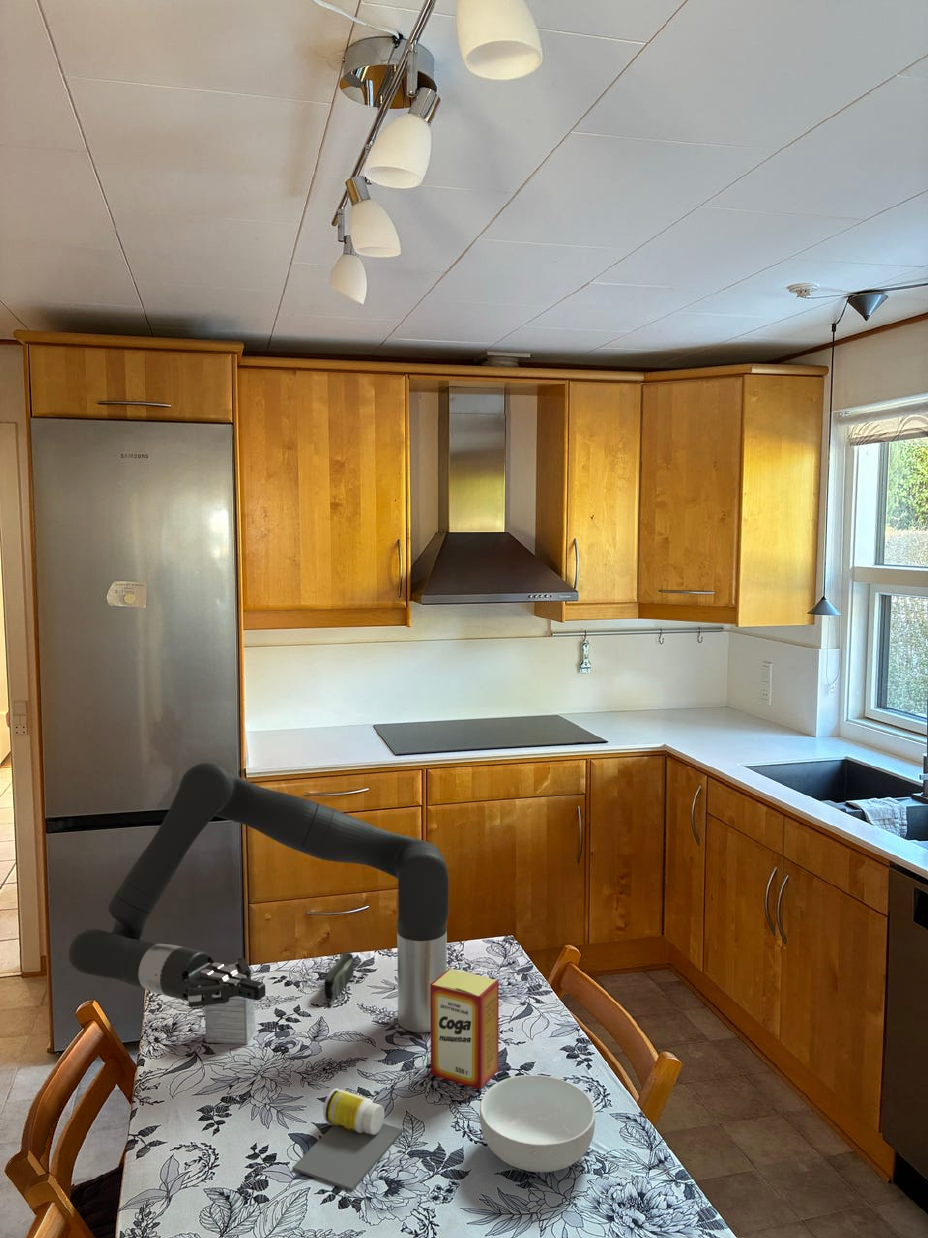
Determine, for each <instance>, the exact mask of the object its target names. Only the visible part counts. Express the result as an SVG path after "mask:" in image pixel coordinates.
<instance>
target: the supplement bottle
mask: <svg viewBox="0 0 928 1238" xmlns="http://www.w3.org/2000/svg"><path fill="white" fill-rule="evenodd" d="M322 1110H323V1111H322V1113H323V1114H322V1115H323V1116H322V1117H323V1118H324V1121H325V1122H327V1123H329V1124H332V1125H334V1124H335V1125H337V1126H340V1127H343V1128H346V1129H349V1130H352V1131H355V1132H358V1133H363V1132H366V1133H369V1134H372V1135H375V1134H377V1133H378V1131H379V1130H380V1128H381V1126H382V1124H384V1120H385V1108H384V1106H383V1105H381V1104H379V1103H376V1102H375V1103H374V1102H373V1100H372V1099H370V1098H369V1097H365V1096H363V1095H359V1094H357V1093H354V1092H350V1091H347V1090H345V1089H341V1088H336V1087H335V1088H334V1089H332V1090H331V1091H330V1092H329V1093H328V1095H327V1096H326V1098H325V1100H324V1104H323V1109H322Z"/></svg>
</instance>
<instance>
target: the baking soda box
mask: <svg viewBox="0 0 928 1238" xmlns="http://www.w3.org/2000/svg"><path fill="white" fill-rule="evenodd" d="M499 983H500V981H499V980H498V979H494V978H490V977H485V976H483V975H477V974H473V973H468V972H465V971H461V970H458V969H453V968H447V971H446V972H445V973H443V974H442V975H441V976H440V977H438V978H437V979H436V980H435V981H434V982H432V983H431V984H430V1017H431V1032H430V1076H434V1077H437V1078H440V1079H444V1080H446V1081H450V1082H452V1083H453V1082H454V1083H456V1084H459V1085H463V1086H466V1085H467V1086H466V1087H469V1086H470V1087H469V1088H472V1087H474V1088H473V1089H475V1088H477V1089H476V1090H479V1089H480V1090H479V1091H482V1090H483V1089H484V1088H485V1086H486V1085H487V1084H488V1083H489V1081H491V1079H492V1078H493V1077H494V1076H495V1075H496V1074H497V1072H499V1065H500V1064H499V1047H500V1045H499V1040H500V1039H499V1026H500V1025H499V1022H500V1021H499V1017H500V1016H499V1010H500V1009H499V1001H500V1000H499V998H500V997H499V988H500V987H499ZM487 1082H488V1083H487ZM486 1083H487V1084H486ZM485 1084H486V1085H485ZM484 1085H485V1086H484ZM481 1089H482V1090H481Z"/></svg>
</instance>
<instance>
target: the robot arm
mask: <svg viewBox="0 0 928 1238" xmlns="http://www.w3.org/2000/svg"><path fill="white" fill-rule="evenodd" d="M214 817H215V818H216V817H217V818H219V819H220V818H221V819H224V820H228V821H231V822H235V823H239V824H241V825H245V826H247V827H250V828H251V829H253V830H255V831H257V832H259V833H261V834H262V835H265V836H266V837H268V838H270V839H272V840H274V841H276V842H278V843H279V844H281V845H283V846H286V847H288V848H290V849H293V850H295V851H297V852H299V853H303V854H304V855H308V856H311V857H313V858H317V859H320V860H324V861H328V862H334V863H335V862H336V863H342V864H343V863H346V864H347V863H348V864H357V865H358V864H359V865H364V866H368V867H371V868H374V869H376V870H379V871H382V872H383V873H386V874H388V875H389V876H392V877H393V878H396V879H397V885H398V886H397V901H398V902H397V903H398V904H397V906H398V907H397V909H398V913H397V918H396V919H397V920H396V921H397V923H396V926H397V927H396V928H397V929H396V930H397V931H396V934H397V935H396V936H397V937H396V938H397V939H396V941H397V943H396V944H397V946H396V947H397V1022H398V1025H399V1026H400V1027H401V1028H402V1029H404V1030H406V1031H409V1032H413V1033H431V1017H430V984H431V983H432V982H434V981H435V980H436V979H437V978H438V977H440V976H441V975H442V974H443V973H445V972H446V971H447V970H448V961H447V960H448V957H447V955H448V953H447V952H448V944H447V943H448V942H447V937H448V933H447V932H448V930H447V929H448V927H447V926H448V920H449V900H450V899H449V893H450V891H449V890H450V889H449V888H450V887H449V882H450V881H449V878H450V877H449V870H448V867H447V863H446V861H445V857H444V856H443V854H442V852H441V850H440V849H439V848H438V847H437V846H436V845H435V844H433V843H431V842H428V841H426V840H423V839H419V838H415V837H412V836H407V835H404V834H400V833H396V832H392V831H388V830H385V829H383V828H379V827H377V826H375V825H373V824H371V823H368V822H366V821H364V820H362V819H359V818H357V817H355V816H352V815H349V814H347V813H344V812H342V811H340V810H338V809H336V808H333V807H331V806H330V807H329V806H327V805H325V804H322V803H320V802H317V801H314V800H311V799H308V798H304V797H301V796H297V795H294V794H293V795H292V794H289V793H285V792H281V791H276V790H271V789H268V788H265V787H262V786H259V785H256V784H254V783H253V782H250V781H248V780H246V779H244V778H242V777H239V776H238V775H235V774H234V773H232V772H230V771H229V770H227V769H225V768H224V767H222V766H221V765H219V764H216V763H213V762H201V763H198V764H195V765H193V766H191V767H190V768H188V770H186V772H185V773H183V776H182V777H181V779H180V781H179V786H178V789H177V791H176V794H175V796H174V798H173V801H172V803H171V805H170V808H169V809H168V812H167V814H166V815H165V816H164V819H163V821H162V822H161V824H160V826H159V828H158V830H157V831H156V832H155V834H154V836H153V837H152V838H151V841H149V843H148V845H147V846H146V848H145V849H144V850H143V852H142V853H141V854H140V856H139V857H138V858H137V860H136V862H135V863H134V864H133V865H132V867H131V868H130V870H129V871H128V873H127V874H126V875H125V877H124V879H123V880H122V882H121V883H120V885H119V887H118V888H117V889H116V892H115V893H114V895H113V896H112V898H111V899H110V901H109V904H108V906H107V912H108V913H109V915H110V916H111V917H112V918H113V919H115V922H114V925H113V928H112V930H111V932H109V931H106V930H103V929H99V928H90V929H86V930H84V931H82V932H80V933H79V934H77V935H76V936H75V937H74V939H72V941H71V942H70V945H69V948H68V951H67V952H68V953H67V954H68V961H69V963H70V965H71V967H72V968H73V969H74V970H75V971H77V972H79V973H82V974H86V975H90V976H95V977H98V978H99V977H100V978H104V979H113V980H117V981H119V982H122V983H125V984H126V985H127V984H128V985H129V986H133V987H138V988H141V989H146V990H149V991H151V992H152V993H155V994H158V995H162V996H167V997H170V998H173V999H178V1000H181V1001H184V1002H187V1005H188V1007H189V1008H194V1007H203V1006H204V1007H205V1005H212V1004H221V1003H227V1002H229V998H234V999H236V998H239V997H243V998H247V999H252V1000H254V1001H256V1002H258V1001H260V1000H261V999H263V998H265V996H266V984H265V983H264V982H262V981H258V980H254V979H252V970H251V968H250V966H249V964H248V963H247V961H246V959H245V958H244V957H238V958H236V962H235V963H233V964H228V963H227V962H225V961H224V962H223V961H222V962H221V961H219V962H216V961H214V960H213V958H212V957H211V956H210V954H209V953H207V952H206V951H204V950H203V951H202V950H198V949H194V948H189V947H184V946H180V945H175V944H170V943H168V944H166V943H159V942H156V941H155V942H154V941H150V940H145V939H144V940H142V937H143V933H144V930H145V927H146V924H147V922H148V921H147V920H148V919H149V918H150V916H151V914H152V912H153V911H154V910H155V908H156V906H157V905H158V903H159V902H160V901H161V899H162V898H163V896H164V893H166V890H167V889H168V887H169V885H170V884H171V882H172V880H173V878H174V876H175V874H176V872H177V870H178V869H179V867H180V865H181V863H182V862H183V860H184V857H185V856H186V854H187V853H188V851H189V850H190V848H191V846H192V845H193V843H194V842H195V841H196V839H197V838H198V837H199V835H200V834H201V832H202V831H203V829H204V828H205V827H206V826H207V825H208V824H209V823H210V822H211V820H212V819H213V818H214Z"/></svg>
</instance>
